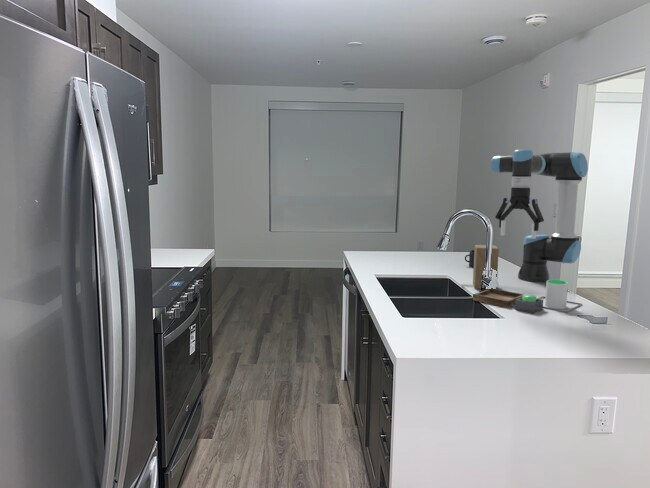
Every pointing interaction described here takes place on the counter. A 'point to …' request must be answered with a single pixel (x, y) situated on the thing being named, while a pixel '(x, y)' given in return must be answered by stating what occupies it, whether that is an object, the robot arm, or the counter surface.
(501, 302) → the wooden tray
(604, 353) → the counter surface
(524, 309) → the control box
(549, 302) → the mug
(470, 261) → the mug
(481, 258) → the wooden block
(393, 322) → the counter surface
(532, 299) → the button
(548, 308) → the tote frame
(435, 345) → the counter surface
